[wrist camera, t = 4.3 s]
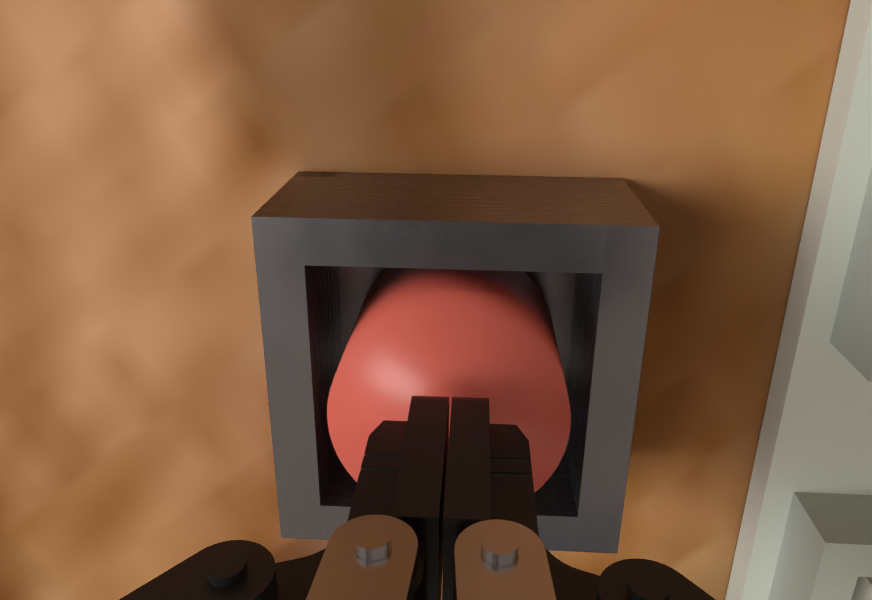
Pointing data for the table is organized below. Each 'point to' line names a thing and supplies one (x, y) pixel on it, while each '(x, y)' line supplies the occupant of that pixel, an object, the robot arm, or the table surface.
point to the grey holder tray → (821, 373)
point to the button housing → (462, 250)
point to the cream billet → (863, 589)
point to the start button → (452, 359)
